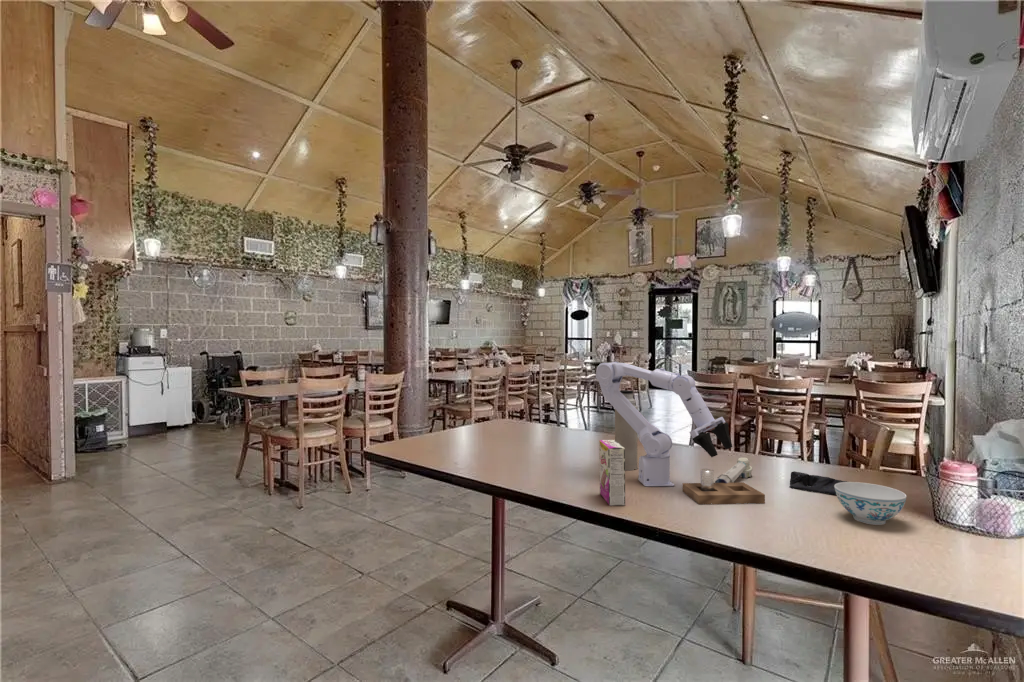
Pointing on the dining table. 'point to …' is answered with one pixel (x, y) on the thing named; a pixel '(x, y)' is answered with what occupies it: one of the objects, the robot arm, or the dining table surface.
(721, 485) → the wooden holder tray
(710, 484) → the steel pin
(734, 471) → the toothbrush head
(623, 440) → the thermos bottle
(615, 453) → the candy bar box
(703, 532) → the dining table surface
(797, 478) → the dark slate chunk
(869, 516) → the chinaware
